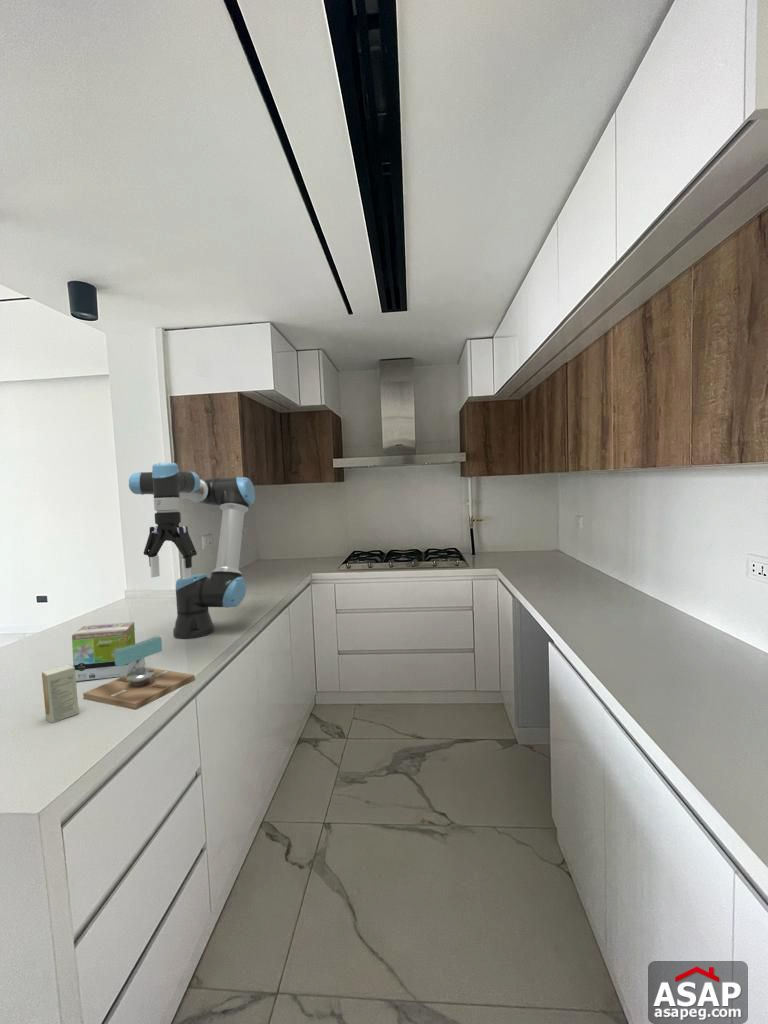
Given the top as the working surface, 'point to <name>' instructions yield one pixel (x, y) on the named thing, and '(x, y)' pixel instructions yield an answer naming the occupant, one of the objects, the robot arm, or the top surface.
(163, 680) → the post base
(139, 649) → the teal lever handle
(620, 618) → the top surface
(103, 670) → the tea box
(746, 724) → the top surface
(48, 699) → the skincare box
